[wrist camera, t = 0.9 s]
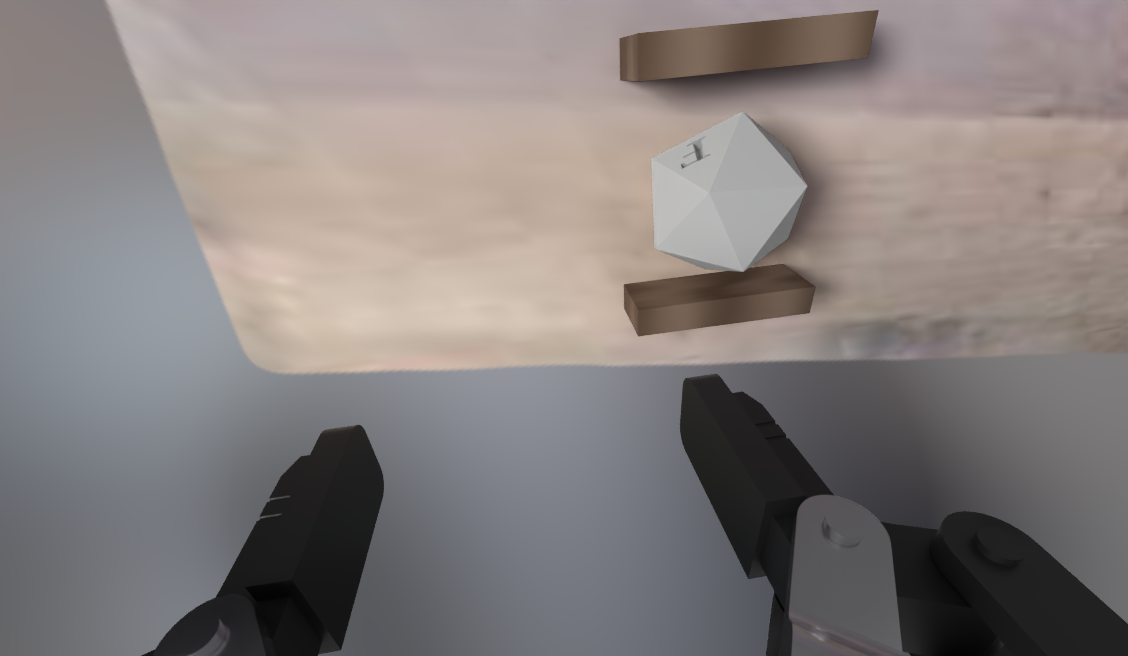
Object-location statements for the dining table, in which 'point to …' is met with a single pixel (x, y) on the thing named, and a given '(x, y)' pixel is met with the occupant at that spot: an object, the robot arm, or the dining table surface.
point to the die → (725, 196)
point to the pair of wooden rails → (724, 52)
